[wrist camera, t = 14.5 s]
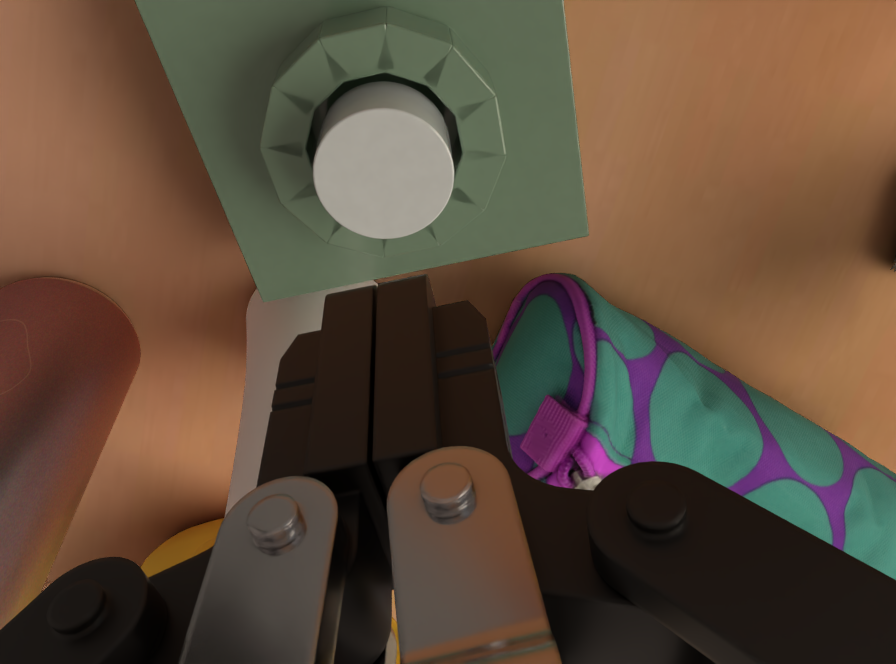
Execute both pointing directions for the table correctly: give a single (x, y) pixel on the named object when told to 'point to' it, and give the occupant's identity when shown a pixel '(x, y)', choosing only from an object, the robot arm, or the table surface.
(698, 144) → the table surface
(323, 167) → the white cylinder puck
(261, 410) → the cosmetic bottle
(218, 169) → the socket base
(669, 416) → the pencil case
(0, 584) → the beverage can
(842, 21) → the table surface
